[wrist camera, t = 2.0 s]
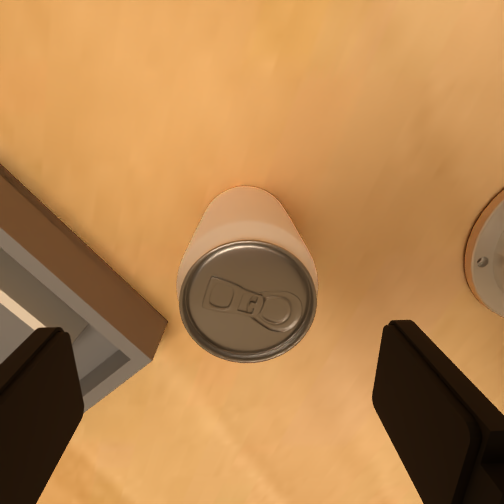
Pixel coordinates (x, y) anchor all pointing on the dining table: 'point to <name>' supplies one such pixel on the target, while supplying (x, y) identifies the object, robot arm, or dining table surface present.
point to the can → (247, 279)
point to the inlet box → (69, 295)
